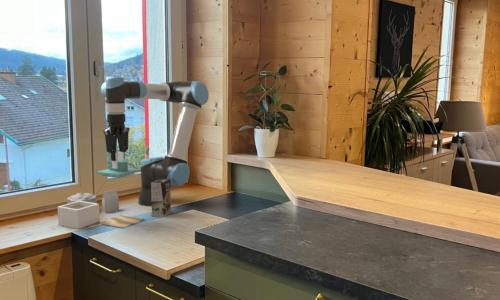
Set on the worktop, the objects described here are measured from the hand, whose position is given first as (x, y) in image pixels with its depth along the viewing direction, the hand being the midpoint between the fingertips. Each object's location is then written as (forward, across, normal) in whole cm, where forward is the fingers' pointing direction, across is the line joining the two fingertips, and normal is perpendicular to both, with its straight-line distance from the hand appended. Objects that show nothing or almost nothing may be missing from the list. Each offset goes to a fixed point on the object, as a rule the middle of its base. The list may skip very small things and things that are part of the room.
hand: (118, 167), depth 205 cm
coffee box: (+25, -18, +8) cm, 32 cm away
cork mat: (+24, 0, 0) cm, 24 cm away
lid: (+2, 0, 0) cm, 2 cm away
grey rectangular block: (+25, -11, -17) cm, 32 cm away
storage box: (+24, +10, -14) cm, 30 cm away
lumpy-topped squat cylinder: (+25, -4, -27) cm, 37 cm away
